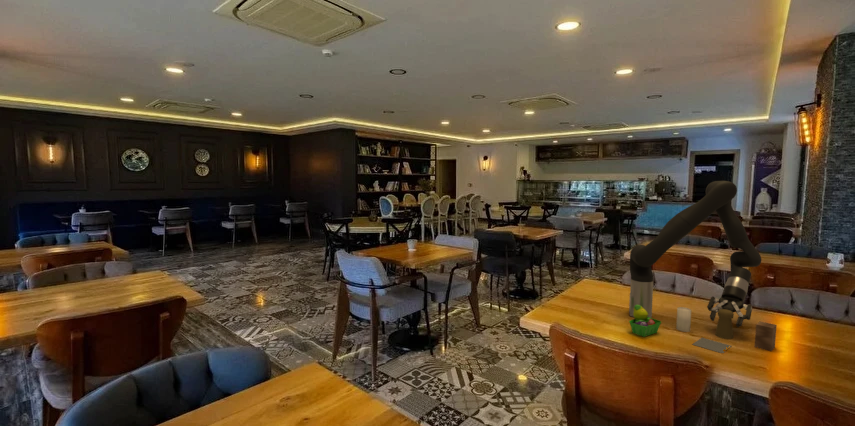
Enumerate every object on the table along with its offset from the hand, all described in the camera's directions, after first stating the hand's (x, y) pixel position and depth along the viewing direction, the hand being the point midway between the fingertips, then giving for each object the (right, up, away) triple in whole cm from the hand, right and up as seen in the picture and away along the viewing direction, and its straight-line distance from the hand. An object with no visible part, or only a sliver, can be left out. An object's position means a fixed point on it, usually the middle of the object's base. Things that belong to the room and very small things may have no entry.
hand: (724, 323), depth 161 cm
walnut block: (+8, -7, -10) cm, 14 cm away
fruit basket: (-30, -6, +6) cm, 31 cm away
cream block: (-12, -5, +8) cm, 15 cm away
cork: (+1, -6, +1) cm, 6 cm away
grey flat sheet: (-10, -7, -7) cm, 14 cm away
